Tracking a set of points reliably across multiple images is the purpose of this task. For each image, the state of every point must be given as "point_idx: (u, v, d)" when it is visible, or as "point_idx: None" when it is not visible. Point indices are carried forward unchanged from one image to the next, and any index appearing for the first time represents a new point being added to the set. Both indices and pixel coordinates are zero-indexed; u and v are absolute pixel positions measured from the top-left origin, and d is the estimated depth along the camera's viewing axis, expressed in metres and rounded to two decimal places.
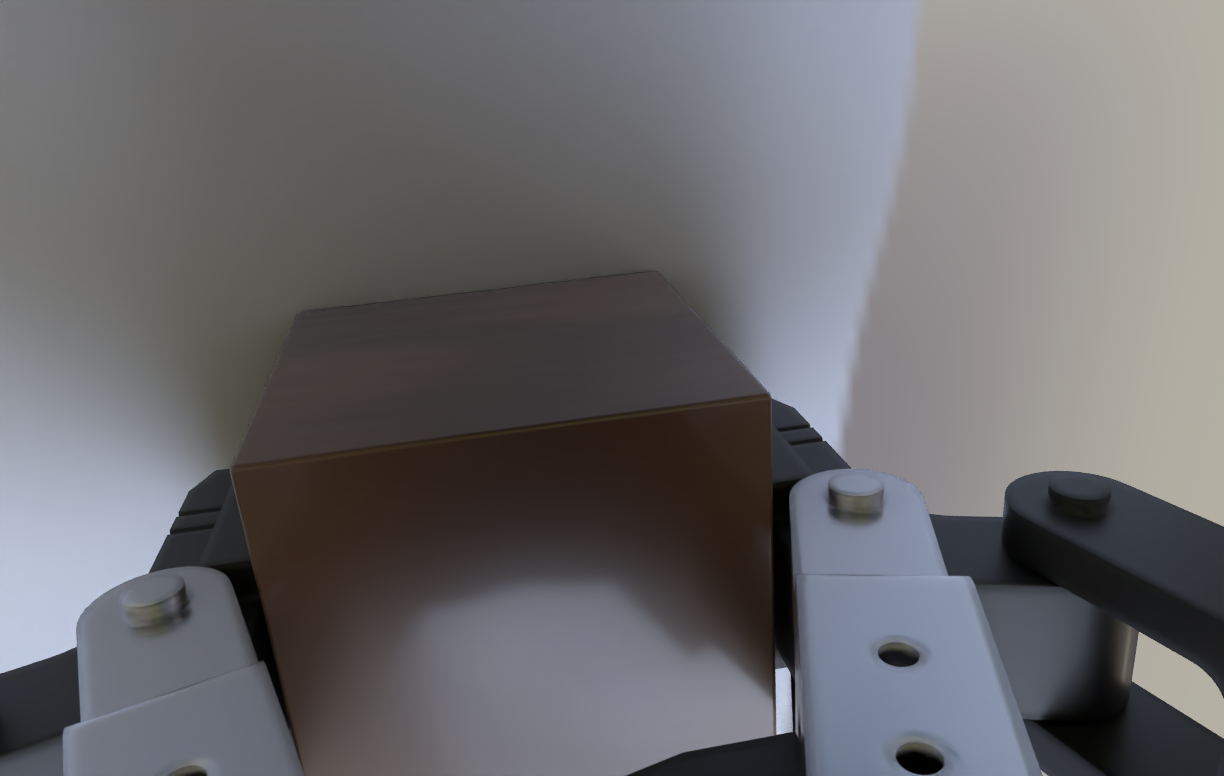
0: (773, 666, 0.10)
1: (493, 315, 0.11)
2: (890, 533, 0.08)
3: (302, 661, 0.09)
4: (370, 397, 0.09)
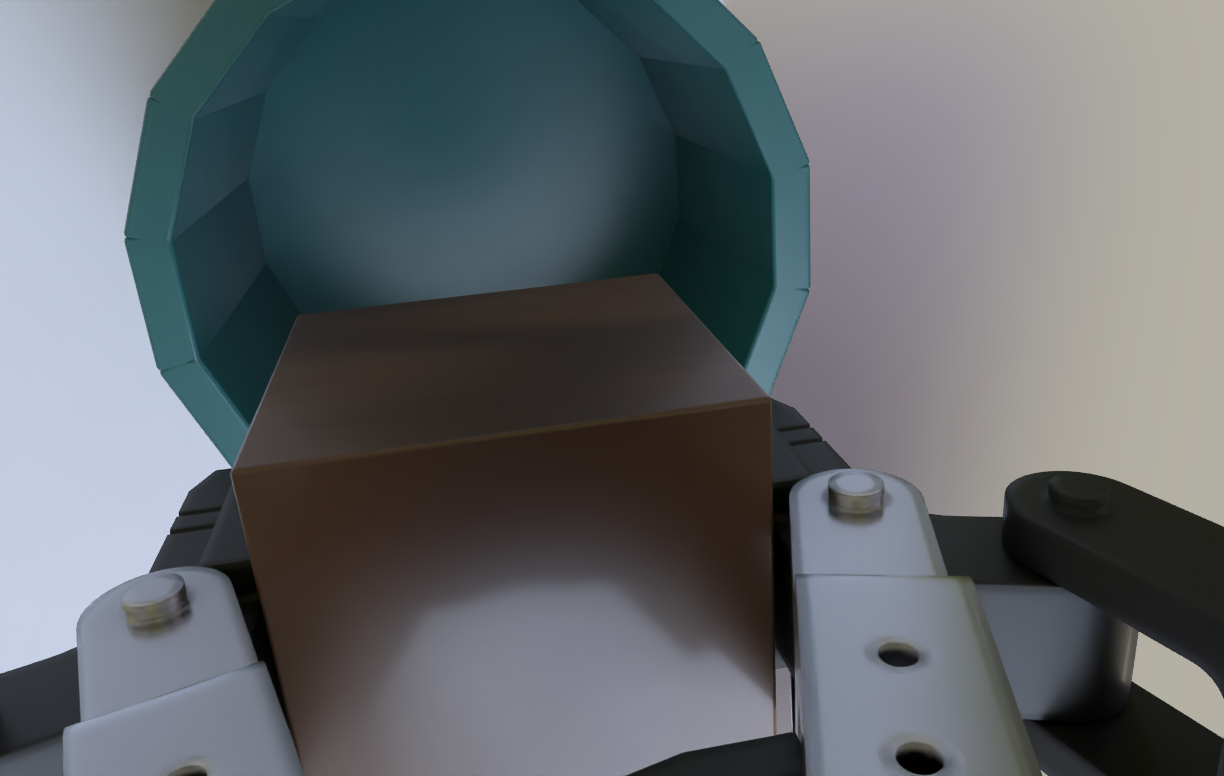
0: (773, 669, 0.10)
1: (492, 318, 0.11)
2: (890, 533, 0.08)
3: (303, 666, 0.09)
4: (369, 400, 0.09)
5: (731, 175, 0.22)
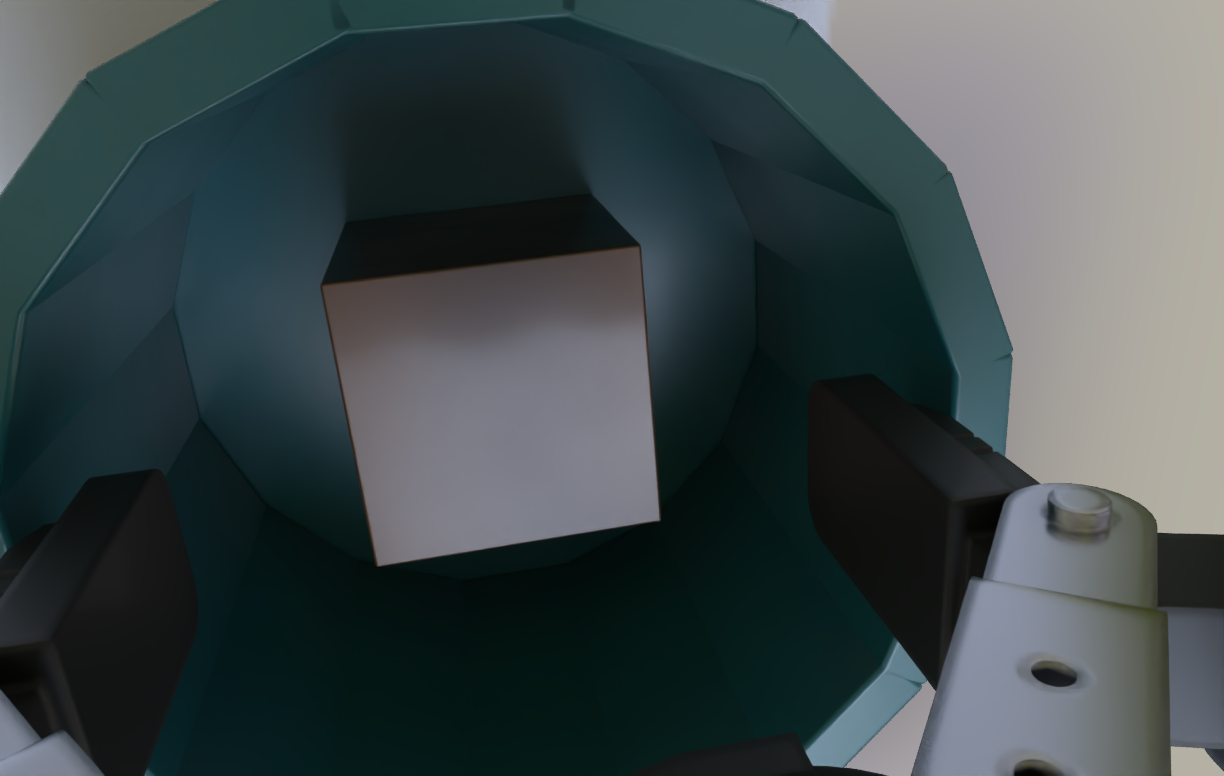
0: (653, 425, 0.15)
1: (477, 218, 0.17)
2: (1132, 554, 0.08)
3: (361, 410, 0.14)
4: (399, 255, 0.15)
5: (862, 335, 0.15)
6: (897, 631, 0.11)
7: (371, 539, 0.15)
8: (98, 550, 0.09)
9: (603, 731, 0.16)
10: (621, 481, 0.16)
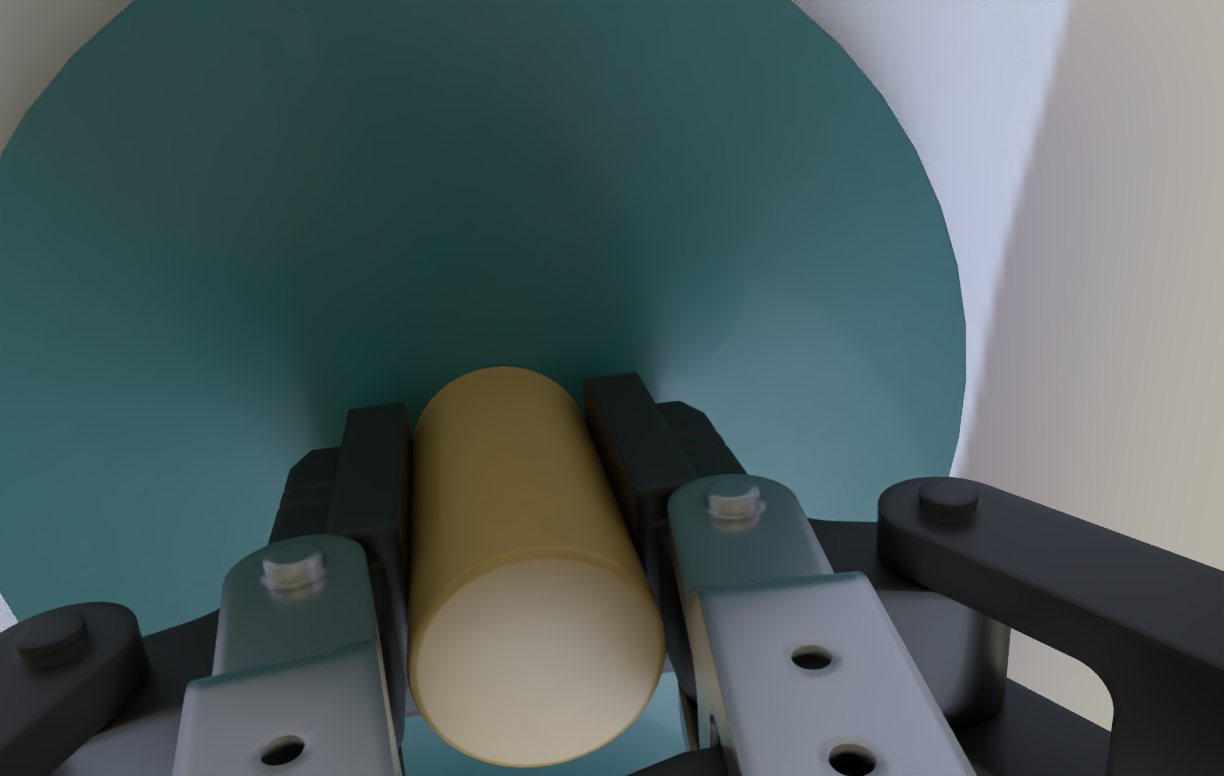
0: None
1: None
2: (757, 538, 0.08)
3: None
4: None
5: None
6: None
7: None
8: (394, 462, 0.11)
9: None
10: None
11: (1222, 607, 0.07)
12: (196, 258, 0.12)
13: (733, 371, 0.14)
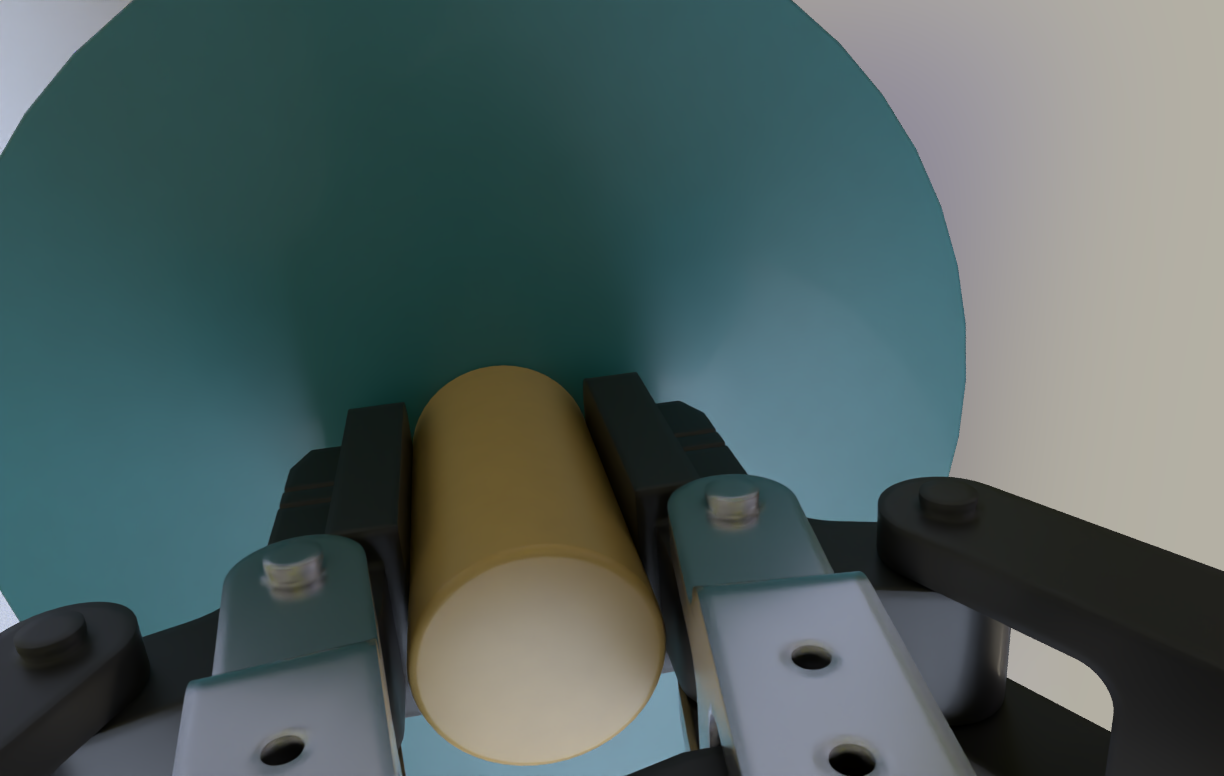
0: None
1: None
2: (757, 538, 0.08)
3: None
4: None
5: None
6: None
7: None
8: (394, 463, 0.11)
9: None
10: None
11: (1221, 608, 0.07)
12: (196, 257, 0.12)
13: (733, 370, 0.14)
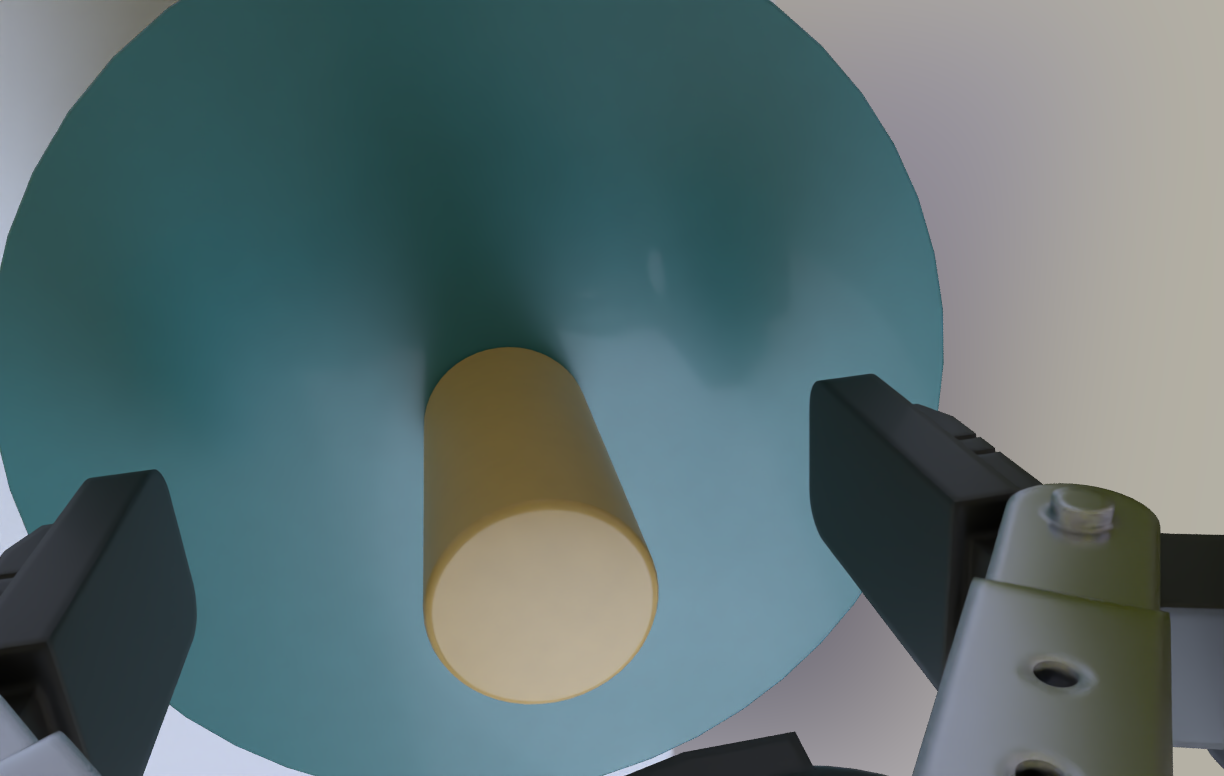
0: None
1: None
2: (1136, 555, 0.08)
3: None
4: None
5: None
6: (899, 632, 0.11)
7: None
8: (95, 551, 0.09)
9: None
10: None
11: None
12: (224, 245, 0.13)
13: (724, 352, 0.15)
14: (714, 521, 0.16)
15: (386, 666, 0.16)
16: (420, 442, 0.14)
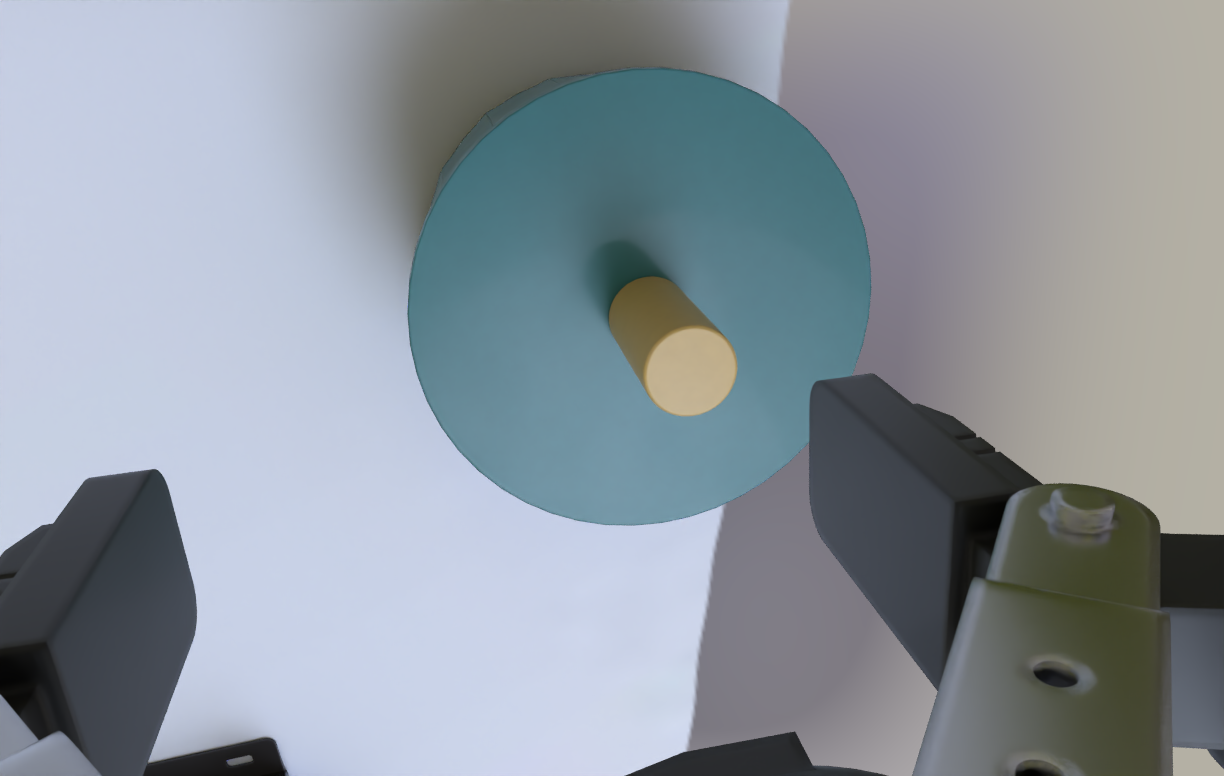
0: None
1: None
2: (1136, 555, 0.08)
3: None
4: None
5: None
6: (899, 631, 0.11)
7: None
8: (95, 551, 0.09)
9: None
10: None
11: None
12: (522, 225, 0.27)
13: (758, 281, 0.29)
14: (751, 371, 0.30)
15: (580, 446, 0.30)
16: (605, 325, 0.29)
